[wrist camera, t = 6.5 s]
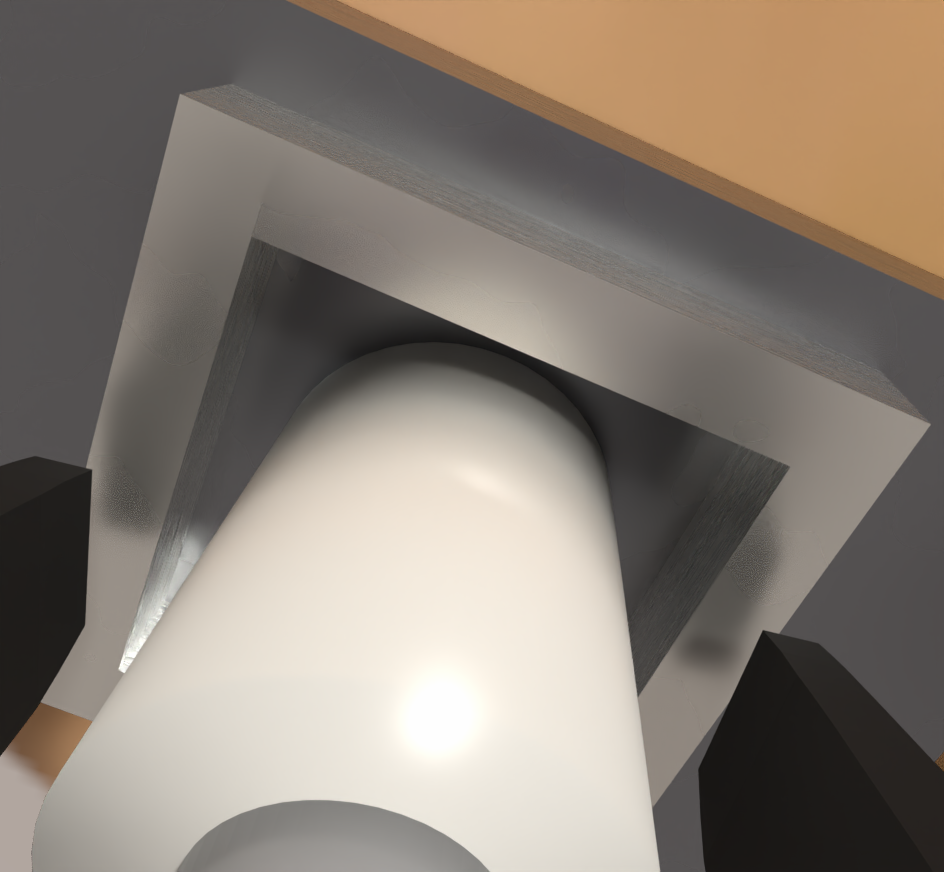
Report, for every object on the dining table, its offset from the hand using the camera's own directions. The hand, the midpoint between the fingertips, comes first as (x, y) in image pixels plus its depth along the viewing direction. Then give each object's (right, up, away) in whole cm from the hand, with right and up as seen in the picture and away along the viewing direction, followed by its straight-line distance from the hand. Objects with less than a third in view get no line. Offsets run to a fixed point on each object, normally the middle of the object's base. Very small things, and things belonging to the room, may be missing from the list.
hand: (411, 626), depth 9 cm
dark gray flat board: (0, +2, +5) cm, 5 cm away
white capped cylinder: (0, +1, +2) cm, 2 cm away
